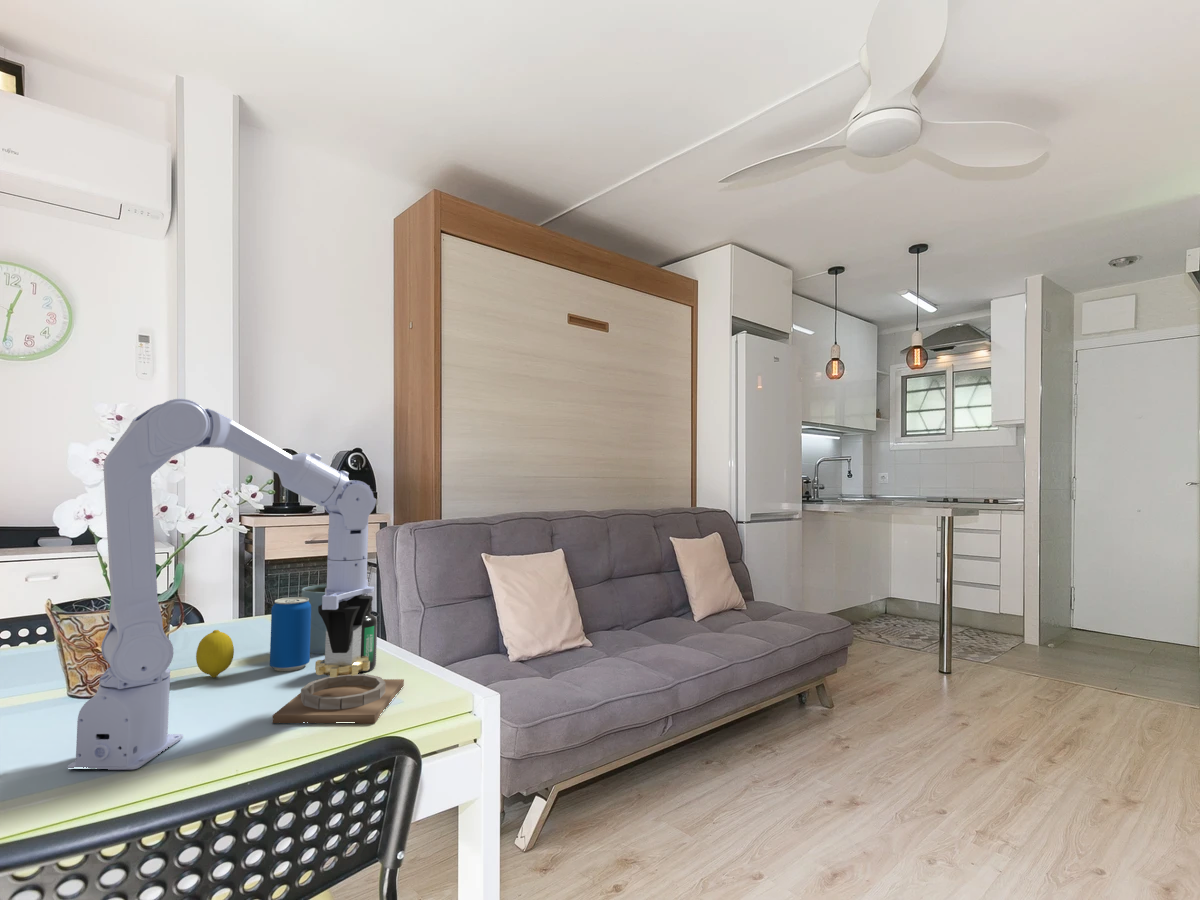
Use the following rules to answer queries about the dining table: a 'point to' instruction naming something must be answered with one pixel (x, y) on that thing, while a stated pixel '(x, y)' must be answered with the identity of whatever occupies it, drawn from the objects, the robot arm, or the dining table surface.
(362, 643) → the supplement bottle
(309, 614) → the beverage can
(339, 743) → the dining table surface
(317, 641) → the green plant pot
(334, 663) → the gear
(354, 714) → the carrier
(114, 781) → the dining table surface
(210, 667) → the lemon
